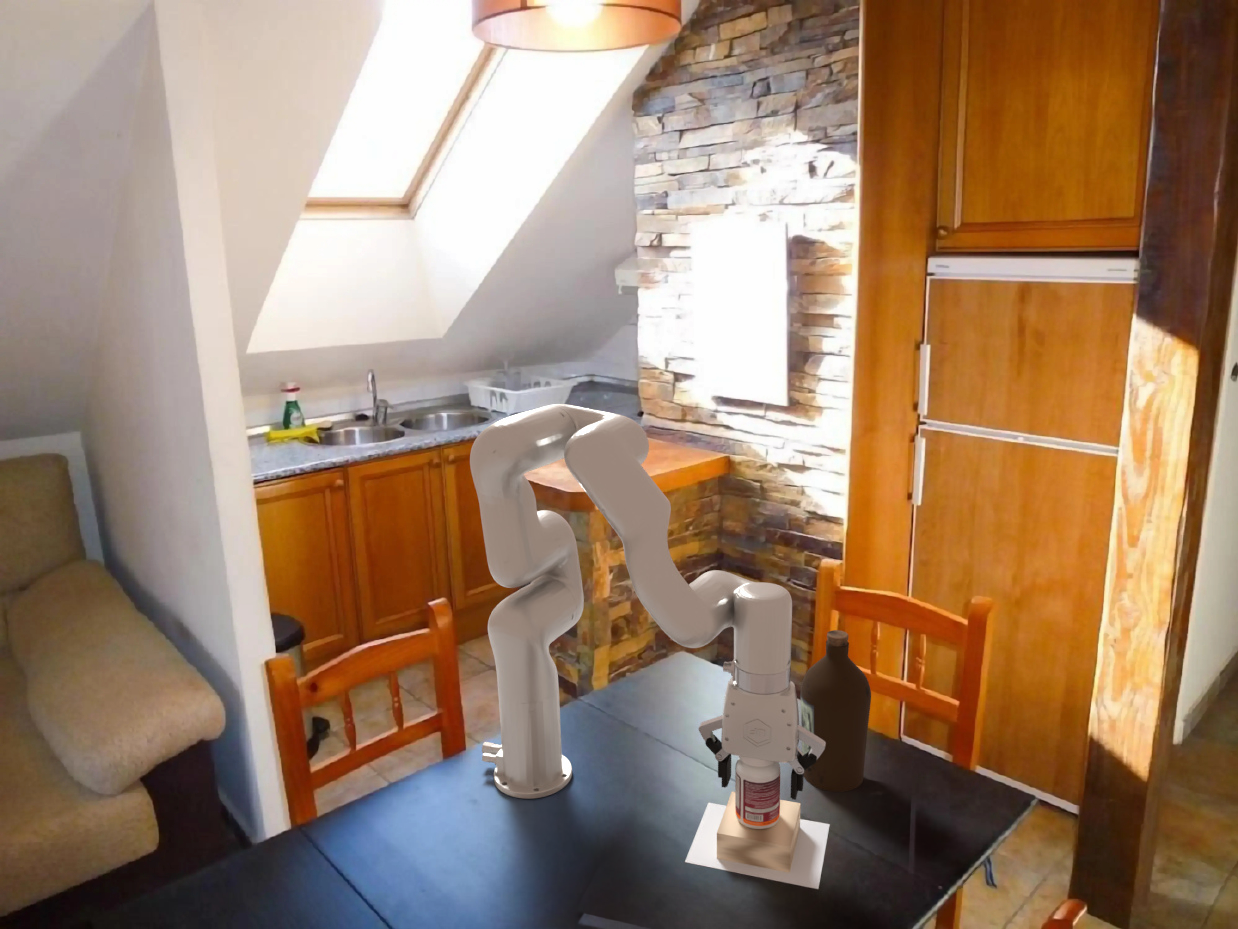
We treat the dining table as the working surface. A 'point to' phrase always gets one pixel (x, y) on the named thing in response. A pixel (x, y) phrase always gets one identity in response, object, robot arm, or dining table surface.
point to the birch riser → (760, 838)
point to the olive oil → (836, 716)
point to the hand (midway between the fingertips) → (760, 787)
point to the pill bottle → (757, 792)
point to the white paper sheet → (801, 873)
